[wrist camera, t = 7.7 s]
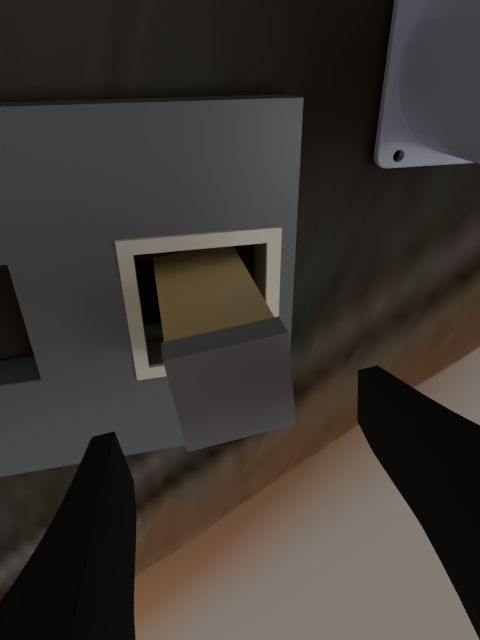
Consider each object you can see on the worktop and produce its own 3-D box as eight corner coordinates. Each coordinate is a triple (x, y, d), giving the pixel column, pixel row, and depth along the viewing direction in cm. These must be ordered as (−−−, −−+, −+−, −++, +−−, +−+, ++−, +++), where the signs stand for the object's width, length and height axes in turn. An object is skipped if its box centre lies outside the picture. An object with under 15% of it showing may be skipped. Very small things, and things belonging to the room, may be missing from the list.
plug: (232, 239, 20) (288, 332, 13) (243, 310, 22) (295, 424, 15) (149, 256, 20) (162, 361, 13) (167, 327, 22) (187, 452, 15)
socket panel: (286, 94, 18) (305, 97, 16) (275, 404, 26) (287, 430, 24) (-246, 109, 14) (-300, 116, 13) (-68, 458, 23) (-86, 494, 21)
